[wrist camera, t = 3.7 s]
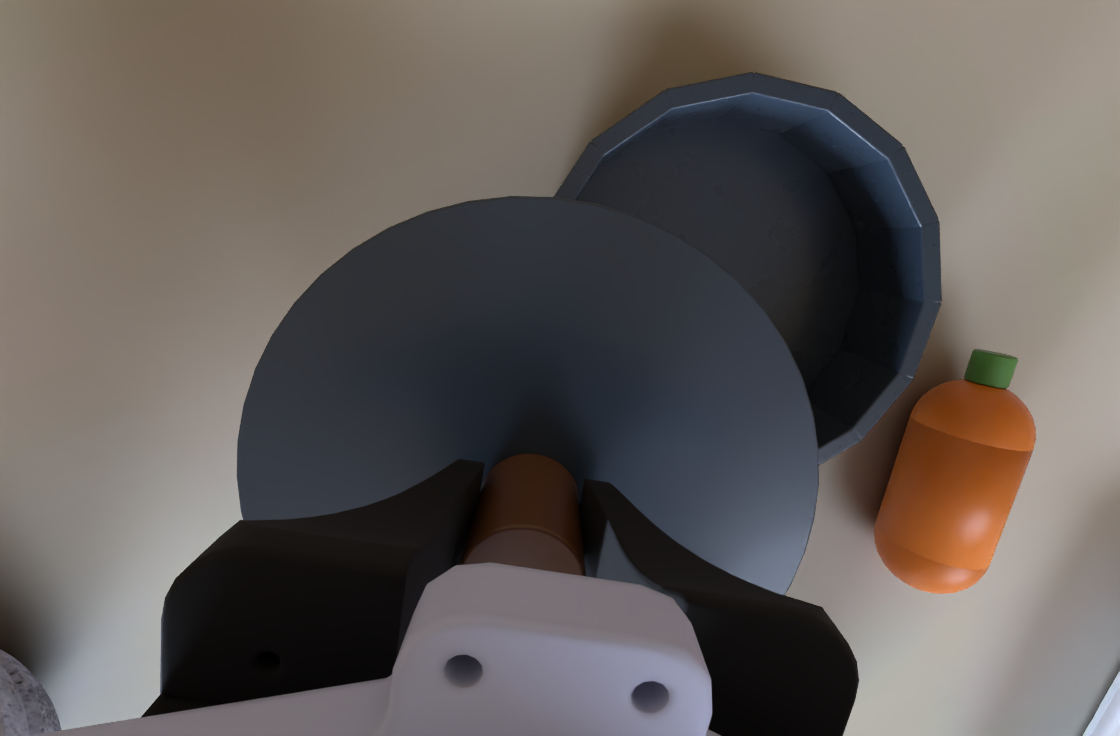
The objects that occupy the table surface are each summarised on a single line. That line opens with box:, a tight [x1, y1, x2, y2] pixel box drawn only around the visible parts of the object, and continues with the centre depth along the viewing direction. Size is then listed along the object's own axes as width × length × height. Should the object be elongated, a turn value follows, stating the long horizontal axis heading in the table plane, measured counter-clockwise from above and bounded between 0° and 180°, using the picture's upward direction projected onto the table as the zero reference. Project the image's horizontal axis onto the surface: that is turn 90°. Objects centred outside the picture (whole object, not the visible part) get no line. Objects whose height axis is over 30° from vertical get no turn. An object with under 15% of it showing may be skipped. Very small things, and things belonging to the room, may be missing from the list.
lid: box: [237, 196, 819, 595], centre depth 13 cm, size 14×14×5 cm
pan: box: [554, 72, 942, 465], centre depth 20 cm, size 13×13×4 cm
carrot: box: [874, 349, 1036, 594], centre depth 22 cm, size 10×4×4 cm, turn 171°
